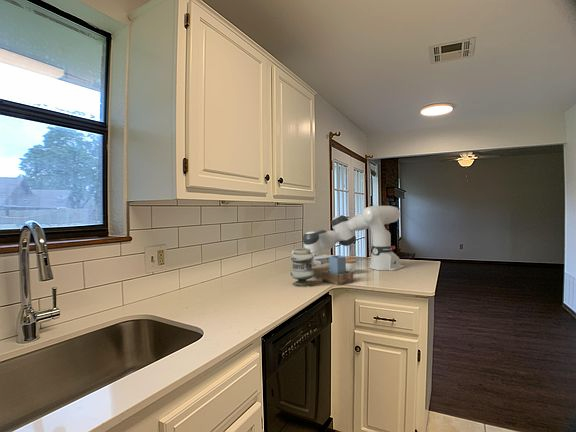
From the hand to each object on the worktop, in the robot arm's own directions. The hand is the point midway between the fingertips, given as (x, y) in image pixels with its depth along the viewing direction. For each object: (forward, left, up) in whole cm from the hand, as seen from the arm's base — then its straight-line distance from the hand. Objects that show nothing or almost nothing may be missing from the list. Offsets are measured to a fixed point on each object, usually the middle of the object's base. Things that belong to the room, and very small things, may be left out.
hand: (328, 262), depth 175 cm
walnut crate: (-1, +7, -9) cm, 11 cm away
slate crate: (0, +6, -8) cm, 11 cm away
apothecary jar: (+17, 0, -10) cm, 20 cm away
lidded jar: (-21, -5, -10) cm, 23 cm away
